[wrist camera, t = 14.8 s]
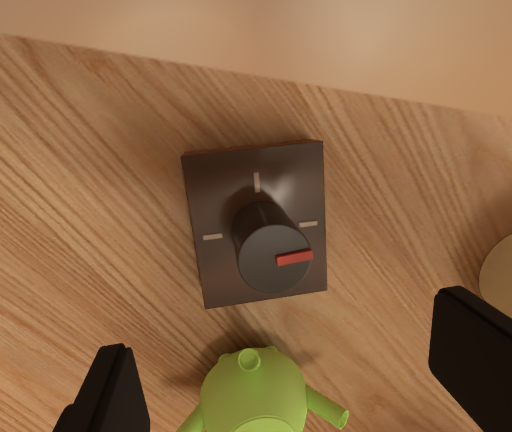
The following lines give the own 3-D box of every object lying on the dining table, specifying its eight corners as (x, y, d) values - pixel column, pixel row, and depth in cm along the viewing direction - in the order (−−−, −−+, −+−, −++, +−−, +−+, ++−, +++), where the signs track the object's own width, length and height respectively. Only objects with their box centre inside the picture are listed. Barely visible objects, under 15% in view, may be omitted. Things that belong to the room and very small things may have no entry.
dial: (237, 262, 24) (244, 303, 18) (226, 207, 23) (231, 234, 17) (293, 250, 24) (317, 288, 19) (286, 196, 23) (309, 218, 17)
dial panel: (184, 152, 24) (180, 155, 21) (310, 138, 25) (324, 140, 22) (205, 290, 27) (204, 311, 24) (316, 274, 28) (328, 291, 25)
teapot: (256, 435, 33) (270, 536, 25) (165, 387, 30) (147, 485, 22) (328, 361, 31) (368, 443, 23) (240, 302, 28) (251, 373, 20)
